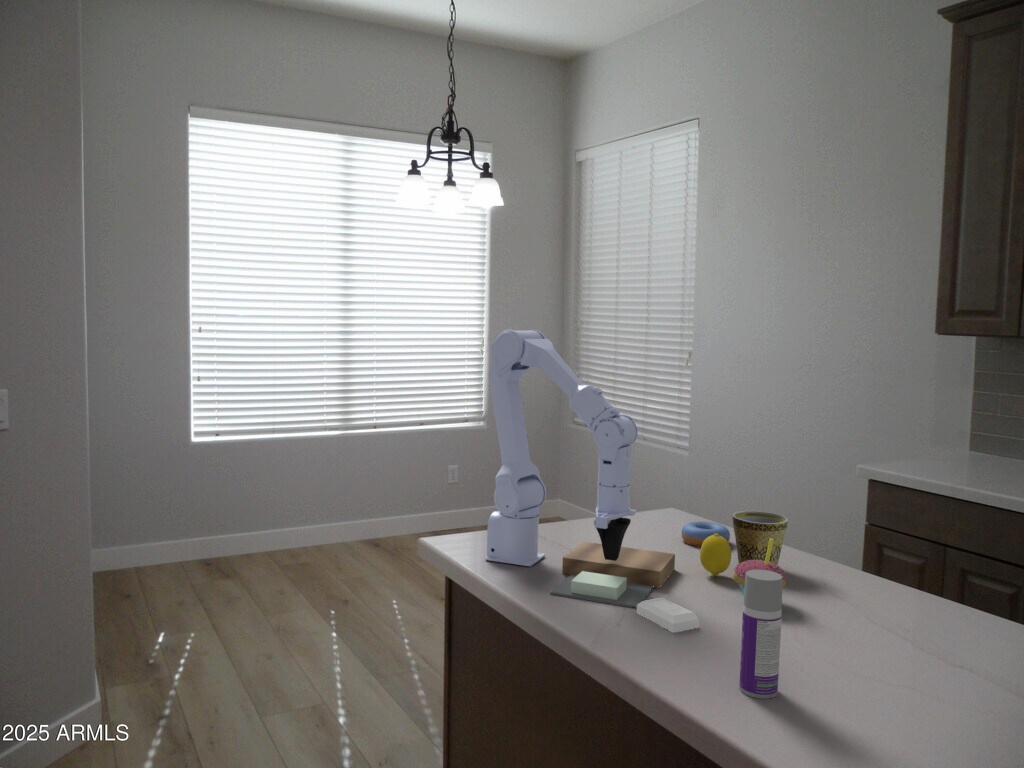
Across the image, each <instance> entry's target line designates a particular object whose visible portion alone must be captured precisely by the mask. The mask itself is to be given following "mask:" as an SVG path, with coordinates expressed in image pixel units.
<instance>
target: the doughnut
mask: <svg viewBox="0 0 1024 768" xmlns="http://www.w3.org/2000/svg"><path fill="white" fill-rule="evenodd" d="M715 533H717V534H719V535H720V536H722V537H723V538H725V539H726V540H727V541H728V543H729V542H730V540H731V539H730V537H731V534H730V530H729V529H728V527H726V526H725V525H723V524H720V523H717V522H713V521H712V522H711V521H700V520H698V521H692V522H687V523H685V524H684V525H683V526H682V529H681V538H682V539H683V541H684V542H685V543H686V544H687V545H690V546H693V547H697V548H701V546H702V543H703V542H704V540H705V539H706V538H707V537H709V536H711V535H714V534H715Z"/></svg>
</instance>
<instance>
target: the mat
mask: <svg viewBox="0 0 1024 768" xmlns="http://www.w3.org/2000/svg"><path fill="white" fill-rule="evenodd" d="M576 576H577V574H571V575H569V576H567V577H566V578H565V579H564V580H562V581H561V582H560V583H559V584H558V585H557V586H555V587H554V588H552V589H551V591H550V592H549V593H550V595H555V596H560V597H564V598H565V597H566V598H572V599H577V600H584V601H589V602H597V603H601V602H602V603H603V604H607V603H609V604H608V605H613V604H616V605H615V606H620V605H621V607H626V606H627V607H628V608H632V607H635V608H634V609H637V604H639V603H640V602H642V601H643V600H645V599H646V598H647V597H648V596H649V594H650V593H651V592H652V591H653V589H654V588H653V586H649V585H642V584H636V583H629V582H627V585H626V590H625V591H624V592H623V593H622V595H621V596H620V597H619V598H618V599H617V600H614V599H608V598H602V597H596V596H590V595H583V594H577V593H571V581H572V580H573V579H574V578H575V577H576ZM652 588H653V589H652ZM651 590H652V591H651ZM650 591H651V592H650ZM649 592H650V593H649ZM648 593H649V594H648ZM647 595H648V596H647ZM646 596H647V597H646ZM645 597H646V598H645ZM644 598H645V599H644ZM602 603H601V604H602ZM627 607H626V608H627Z"/></svg>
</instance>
